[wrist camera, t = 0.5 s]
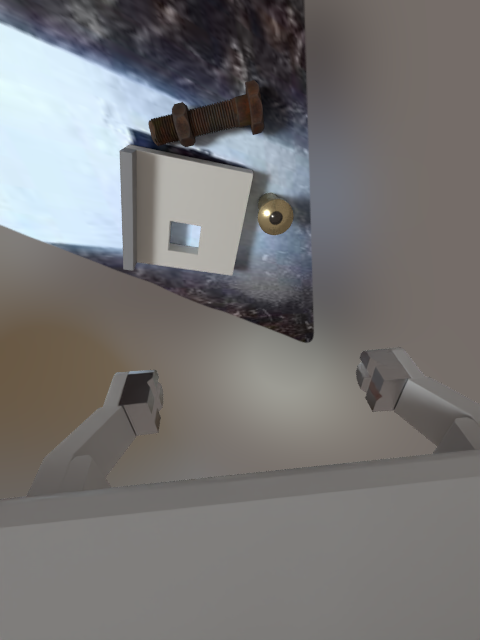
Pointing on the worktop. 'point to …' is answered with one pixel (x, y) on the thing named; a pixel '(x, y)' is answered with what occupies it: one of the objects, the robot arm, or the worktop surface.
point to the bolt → (209, 118)
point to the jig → (181, 209)
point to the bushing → (274, 214)
